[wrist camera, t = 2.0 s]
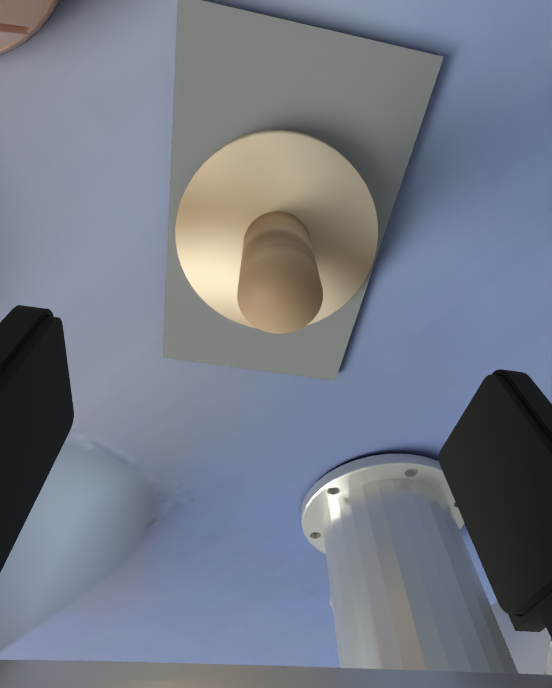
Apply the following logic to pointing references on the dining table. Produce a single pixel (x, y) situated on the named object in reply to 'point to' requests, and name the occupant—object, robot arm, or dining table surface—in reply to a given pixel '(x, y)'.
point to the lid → (276, 230)
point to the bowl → (22, 20)
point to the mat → (295, 115)
